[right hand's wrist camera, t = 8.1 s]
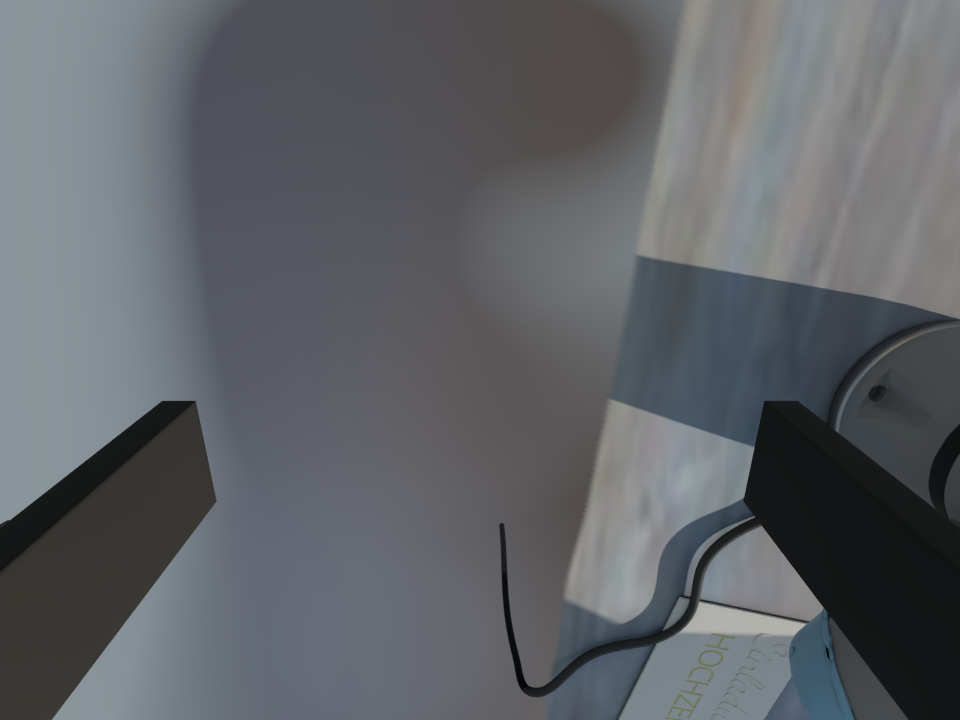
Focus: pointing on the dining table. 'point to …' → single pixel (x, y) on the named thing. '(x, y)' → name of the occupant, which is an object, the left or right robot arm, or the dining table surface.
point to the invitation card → (715, 667)
